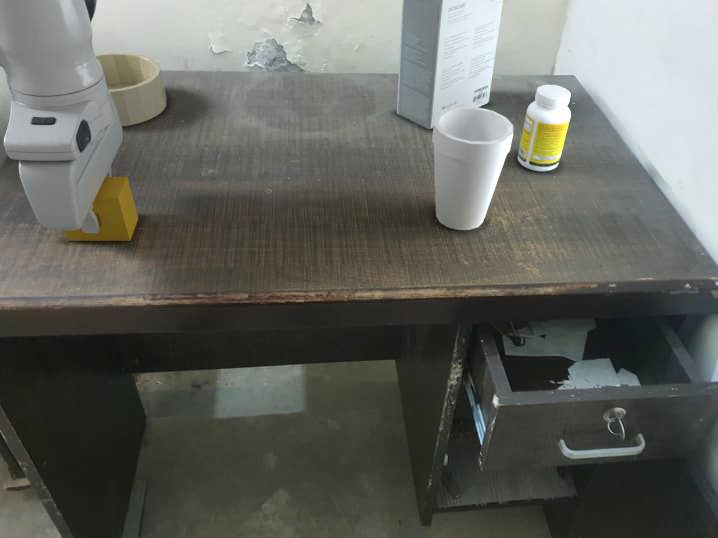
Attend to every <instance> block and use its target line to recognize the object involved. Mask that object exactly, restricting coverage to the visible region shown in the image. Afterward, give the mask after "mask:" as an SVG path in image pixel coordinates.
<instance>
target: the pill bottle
mask: <svg viewBox="0 0 718 538" xmlns="http://www.w3.org/2000/svg"><path fill="white" fill-rule="evenodd" d="M571 94H572V93H571V92H570V90H568V89H567V88H566V87H563V86H560V85H557V84H541V85H539V86H538V87H537V88H536V91H535V96H534V101H532V102H531V103H529V105H528V107H527V109H526V113H525V118H524V123H523V128H522V133H521V138H520V142H519V147H518V153H517V161H518V162H519V164H520V165H521V166H522V167H524V168H526V169H529V170H531V171H534V172H548V171H552V170H555V169H556V168H557V167H558V165H559V163H560V160H561V157H562V152H563V149H564V145H565V141H566V136H567V133H568V129H569V125H570V120H571V116H572V113H571V110H570V108H569V107H568V105H569V103H570V99H571Z"/></svg>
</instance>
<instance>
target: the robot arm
mask: <svg viewBox="0 0 718 538" xmlns="http://www.w3.org/2000/svg"><path fill="white" fill-rule="evenodd" d="M97 1H98V0H0V67H1V68H2V69H3V71H4V72H5V77H6V84H7V87H8V90H9V93H10V95H11V99H10V105H9V106H10V113H9V119H8V124H7V127H6V131H5V134H4V137H3V146H4V150H5V152H6V155H7V156H8V158H9V159H10V160H15V161H17V160H18V173H19V178H20V182H21V185H22V188H23V190H24V192H25V195H26V197H27V199H28V202H29V204H30V206H31V209H32V211H33V213H34V215H35V218H36V219H37V221H38V223H39V224H40V226H42V227H43V228H45V229H47V230H49V231H65V230H78V229H80V228H81V229H82V231H83V232H84V233H98V231H99V229H100V226H101V221H100V217H99V214H94V212H93V211H92V208H93V202H94V200H95V198H96V196H97V194H98V192H99V190H100V187H101V185H102V183H103V181H104V179H105V177H113V175H112V172H113V171H112V170H113V169H112V164H113V162H114V161H115V158H116V156H117V154H118V152H119V150H120V148H121V146H122V144H123V141H124V131H123V130H124V129H123V126H122V125H121V122H120V119H119V115H118V112H117V109H116V106H115V103H114V100H113V98H112V95H111V93H110V92H109V90H108V88H107V84H106V80H105V76H104V72H103V69H102V66H101V64H100V62H99V61H98V59H97V58H96V56H95V54H96V53H95V51H94V47H93V27H92V21H93V18H94V16H95V12H96V7H97V3H98V2H97Z"/></svg>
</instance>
